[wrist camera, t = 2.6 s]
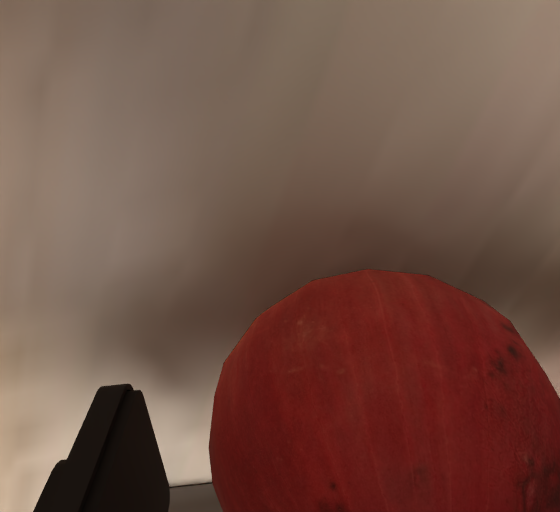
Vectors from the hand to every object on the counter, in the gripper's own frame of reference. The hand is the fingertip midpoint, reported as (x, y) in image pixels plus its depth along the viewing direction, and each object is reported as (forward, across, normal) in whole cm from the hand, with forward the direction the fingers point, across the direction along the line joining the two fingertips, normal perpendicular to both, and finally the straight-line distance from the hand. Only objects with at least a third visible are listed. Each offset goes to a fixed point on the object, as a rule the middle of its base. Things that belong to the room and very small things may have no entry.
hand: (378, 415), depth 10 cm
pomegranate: (+3, 0, -1) cm, 3 cm away
